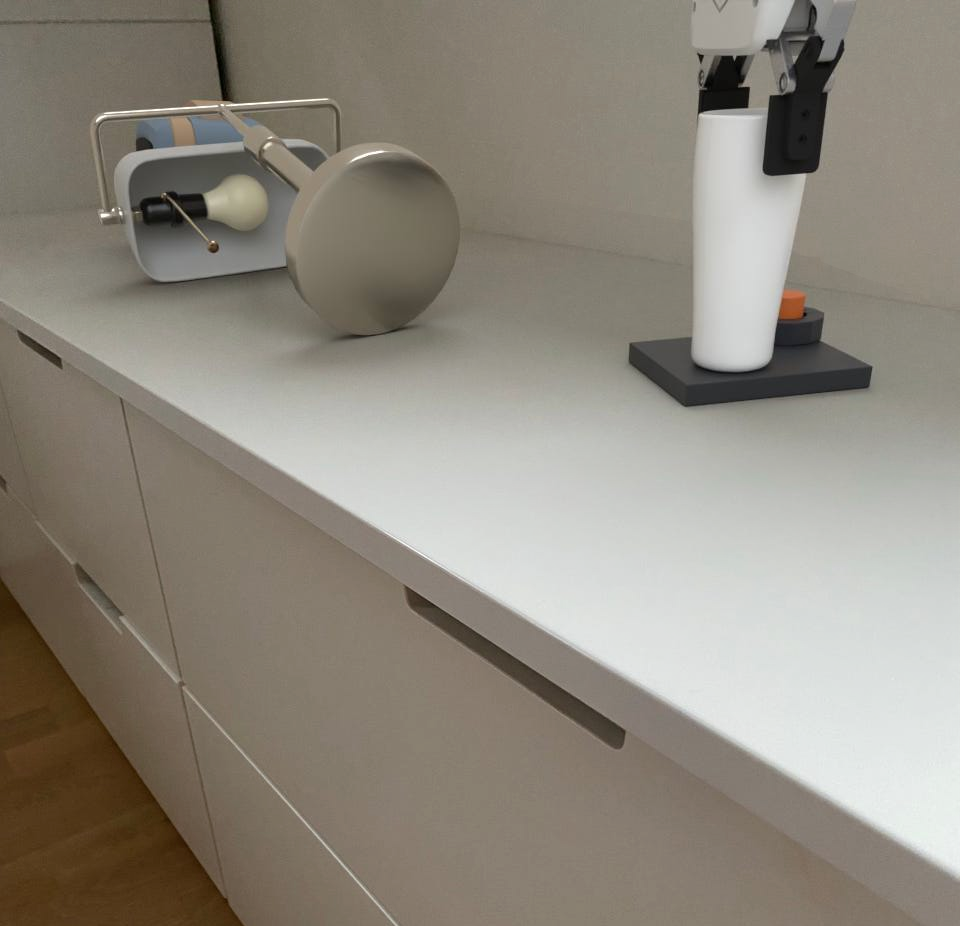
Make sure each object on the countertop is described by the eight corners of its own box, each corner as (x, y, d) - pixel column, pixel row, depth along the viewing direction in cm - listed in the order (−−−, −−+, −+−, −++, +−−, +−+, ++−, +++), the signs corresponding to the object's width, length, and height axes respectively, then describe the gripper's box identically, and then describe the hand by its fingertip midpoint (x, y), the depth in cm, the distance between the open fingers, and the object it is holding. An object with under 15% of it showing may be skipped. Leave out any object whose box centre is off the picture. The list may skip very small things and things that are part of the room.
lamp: (504, 393, 93) (326, 231, 117) (535, 137, 78) (323, 11, 101) (232, 453, 82) (96, 260, 106) (205, 167, 66) (53, 17, 90)
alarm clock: (146, 239, 129) (119, 101, 120) (268, 227, 134) (250, 94, 126) (168, 258, 116) (139, 105, 108) (302, 244, 121) (284, 97, 113)
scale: (796, 342, 75) (801, 302, 74) (880, 386, 65) (888, 340, 64) (624, 358, 73) (626, 317, 71) (685, 406, 63) (688, 359, 62)
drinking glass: (675, 376, 64) (693, 116, 56) (682, 348, 70) (699, 109, 62) (783, 380, 62) (817, 113, 55) (781, 351, 68) (812, 106, 60)
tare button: (791, 313, 72) (794, 288, 71) (809, 321, 70) (812, 295, 69) (759, 316, 72) (761, 291, 71) (775, 324, 70) (778, 298, 69)
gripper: (657, -166, 58) (644, 157, 67) (797, -240, 43) (757, 186, 52) (776, -169, 59) (748, 149, 68) (952, -241, 44) (886, 176, 53)
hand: (752, 165), depth 60 cm, fingers open, 9 cm apart
